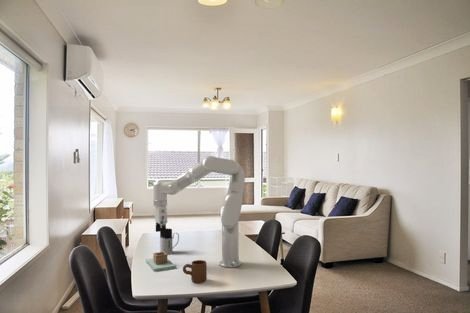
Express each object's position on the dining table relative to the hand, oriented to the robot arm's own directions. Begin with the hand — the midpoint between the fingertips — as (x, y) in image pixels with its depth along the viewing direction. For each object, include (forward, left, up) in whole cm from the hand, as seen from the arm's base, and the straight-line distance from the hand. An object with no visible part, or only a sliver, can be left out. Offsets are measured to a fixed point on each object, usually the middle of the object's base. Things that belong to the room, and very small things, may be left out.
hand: (160, 233), depth 202 cm
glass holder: (+22, -12, -19) cm, 31 cm away
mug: (-35, -8, -19) cm, 40 cm away
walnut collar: (0, 0, -17) cm, 17 cm away
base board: (0, 0, -18) cm, 18 cm away
